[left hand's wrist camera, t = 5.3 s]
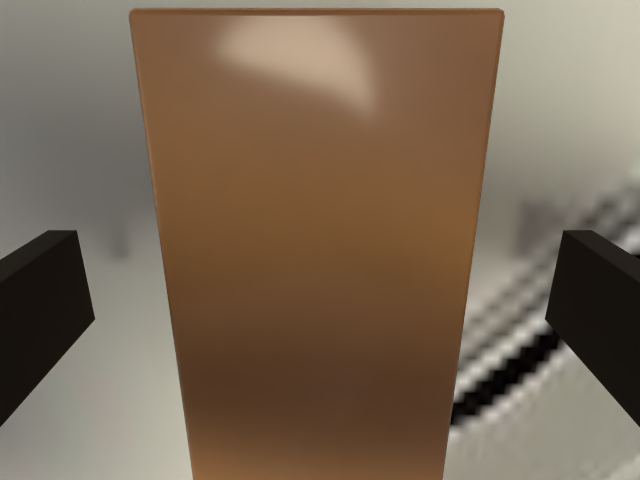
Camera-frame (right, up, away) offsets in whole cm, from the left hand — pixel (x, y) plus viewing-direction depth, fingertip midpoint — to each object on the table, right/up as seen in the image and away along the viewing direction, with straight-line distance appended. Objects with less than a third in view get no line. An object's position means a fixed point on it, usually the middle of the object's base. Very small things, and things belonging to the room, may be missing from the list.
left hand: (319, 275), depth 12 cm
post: (0, -23, +12) cm, 26 cm away
